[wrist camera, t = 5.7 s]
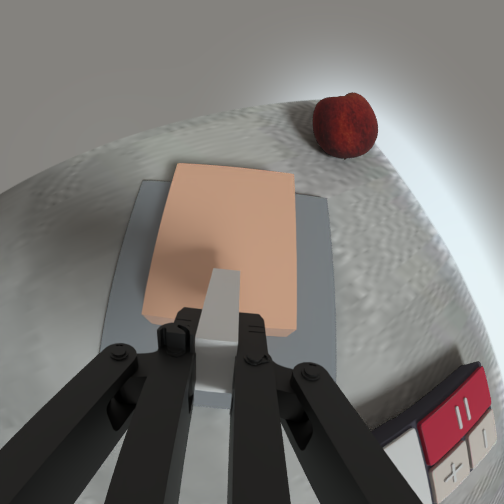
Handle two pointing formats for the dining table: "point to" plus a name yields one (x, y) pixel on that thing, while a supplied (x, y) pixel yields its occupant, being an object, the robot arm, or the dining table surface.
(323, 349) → the mat
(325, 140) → the apple
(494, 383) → the dining table surface
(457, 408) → the calculator
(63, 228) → the dining table surface
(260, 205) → the block
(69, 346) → the dining table surface
